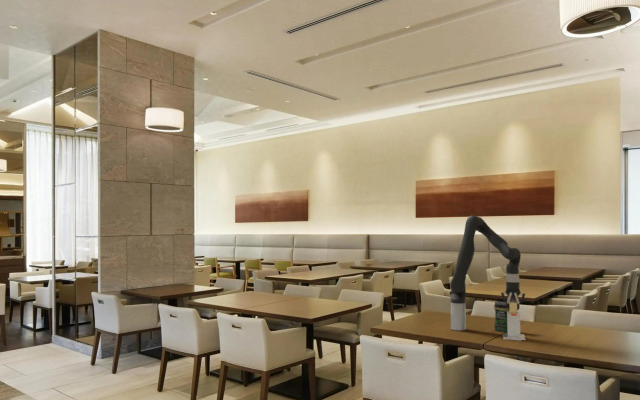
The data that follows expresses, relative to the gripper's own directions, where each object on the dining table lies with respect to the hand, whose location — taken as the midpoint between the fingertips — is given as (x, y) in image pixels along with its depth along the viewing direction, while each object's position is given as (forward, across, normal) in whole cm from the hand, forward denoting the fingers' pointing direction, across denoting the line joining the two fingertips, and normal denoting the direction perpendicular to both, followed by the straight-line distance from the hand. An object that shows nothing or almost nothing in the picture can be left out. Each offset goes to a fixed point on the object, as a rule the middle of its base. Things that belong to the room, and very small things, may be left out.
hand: (513, 309), depth 288 cm
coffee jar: (+17, -6, +19) cm, 26 cm away
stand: (+17, 0, 0) cm, 17 cm away
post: (+16, 0, 0) cm, 16 cm away
